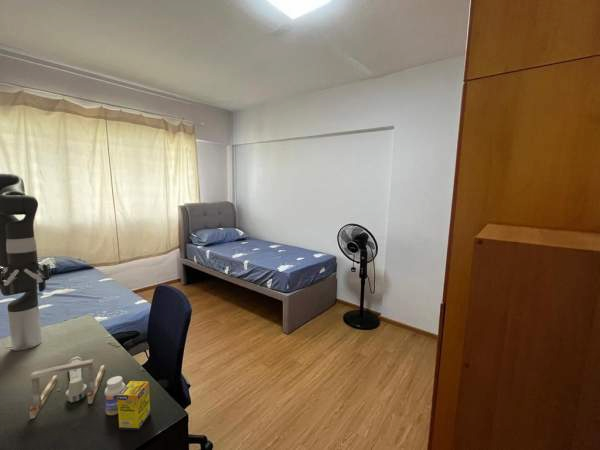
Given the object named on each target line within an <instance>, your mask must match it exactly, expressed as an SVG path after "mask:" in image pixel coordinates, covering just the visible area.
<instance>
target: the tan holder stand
mask: <svg viewBox="0 0 600 450" xmlns="http://www.w3.org/2000/svg"><path fill="white" fill-rule="evenodd" d="M94 360H95V359H94V358H92V359H91V358H90V359H88V360H82V361H81V362H76V363H71V364H68V363H67V364H62V365H57V366H53V367H48V368H42V369H37V370H34V371H33V372H32V373H31V374H30V379H31V380H30V381H31V389H32V396H33V397H32V399H33V405H32V406H31V407H30V408H29V411H30V412H29V420H32V419H35V418H36V417H37V415H38V413H39V411H40V410H41V408H42V407H43V405H44V404H45V402H46V400H47V398H48V397H49V395H50V393H51V392H52V391H53V388H54V387H55V385H56V384H57V382H58V380H59V379H58V375H56V374H59V373H65V372H69V371H70V370H75V369H79V368H81V369H83V368H87V367H88V378H89V390H90V392H87V403H88V405H89V404H93V402H94V400H95V396H96V394H97V391H98V389H99V386H100V384H101V381H102V378H103V375H104V372H105V370H106V368H105V364H103V365H100V368H99V369H98V370H99V371H98V372H97V376H95V363H94ZM54 374H55V375H54ZM51 375H53V376H52V378H51V379H50V381H49V382H48V384H47V385H46V387H45V388H44V389H43V391H42V393H41V385H40V384H41V383H40V377H44V376H45V377H46V376H51Z"/></svg>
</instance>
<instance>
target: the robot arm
mask: <svg viewBox="0 0 600 450" xmlns="http://www.w3.org/2000/svg"><path fill="white" fill-rule="evenodd" d="M38 208H39V203H38V200H37V199H36V197H35V196H33V195H29V194H28V195H27V194H26V193H25V184H24V181H23V178H22V177H21V176H20V175H18V174H14V173H0V293H1V295H2V296H4V297H8V296H14V295H18V294H23V293H24V294H23V295H22V296H20V297H18V298H17V299H14V300H13V301H11V302H9V303H8V304H7V316H8V323H9V331H10V339H11V340H10V341H11V350H12V351H15V352H17V351H25V350H28V349H29V350H30V349H32V348H34V347H36V346H38V345H40V344H41V343H42V341H43V339H42V331H41V330H42V329H41V319H40V309H39V297H38V292H39V293H42V292H44V290H46V288H47V285H46V281H49V280H50V279H51V278H52V276H53V275H52V272H51V265H50V263H49V262H47V263H43V264H39V261H38V250H37V243H36V238H35V230H34V229H35V228H34V223H35V217H36V214H37V211H38ZM18 215H19V216H22V215H24V217H23V218H21V219H18V218H17V216H18ZM39 269H40V270H42V271H43V274H42V273H41V272H40V271H38V270H39Z"/></svg>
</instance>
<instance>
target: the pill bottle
mask: <svg viewBox="0 0 600 450" xmlns="http://www.w3.org/2000/svg"><path fill="white" fill-rule="evenodd" d="M125 387H126V384H125V383H124V381H123V377H122V376H121V375H117V376H113V377H110V378H108V380H107V381H106V388H105V390H104V406H105V408H104V409H105V410H104V411H105V414H106V415H107V416H115V415H118V399H117V395H118V394H119V393H120V392H121V391H122V390H123V389H124V388H125Z"/></svg>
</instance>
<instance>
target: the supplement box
mask: <svg viewBox="0 0 600 450" xmlns="http://www.w3.org/2000/svg"><path fill="white" fill-rule="evenodd" d="M117 399H118V414H117V415H118V429H119V430H122V431H123V430H124V431H125V430H127V431H128V430H129V431H139V430H140V429H141V427H142V426H143V425H144V423H145V421H146V420H148V418H149V417H150V416H151V405H150V403H151V401H150V382H149V381H144V380H143V381H140V380H139V381H136V380H130V381H129V382H128V383H127V384H126V385H125V388H124V389H123V390H122V391H121V392H120V393H119V394H118V395H117Z"/></svg>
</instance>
